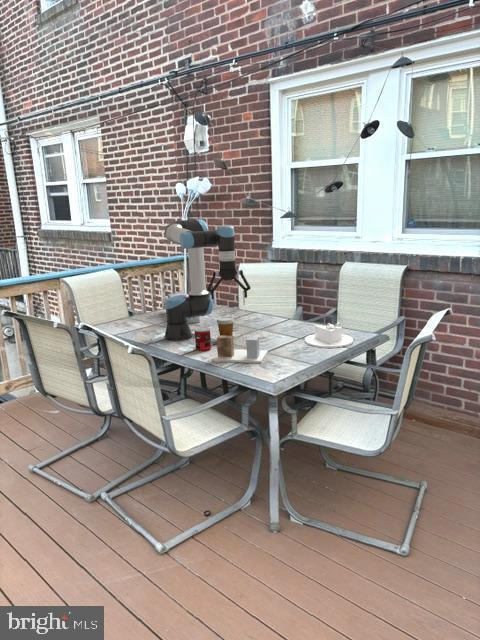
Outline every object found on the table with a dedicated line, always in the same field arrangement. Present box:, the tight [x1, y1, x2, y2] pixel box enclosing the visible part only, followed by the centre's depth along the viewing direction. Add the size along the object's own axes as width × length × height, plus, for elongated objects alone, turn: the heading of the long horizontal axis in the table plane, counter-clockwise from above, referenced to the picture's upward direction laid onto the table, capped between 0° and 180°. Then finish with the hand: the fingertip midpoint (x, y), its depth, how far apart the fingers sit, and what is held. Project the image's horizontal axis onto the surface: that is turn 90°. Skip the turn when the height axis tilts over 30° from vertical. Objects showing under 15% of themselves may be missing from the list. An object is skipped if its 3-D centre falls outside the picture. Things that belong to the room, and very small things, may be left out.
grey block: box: [245, 336, 260, 358], centre depth 220 cm, size 5×5×9 cm
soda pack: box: [167, 291, 201, 325], centre depth 308 cm, size 41×13×14 cm, turn 19°
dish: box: [304, 321, 354, 349], centre depth 242 cm, size 25×25×11 cm
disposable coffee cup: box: [216, 316, 235, 336], centre depth 252 cm, size 10×10×12 cm
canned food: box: [194, 326, 212, 352], centre depth 237 cm, size 8×8×11 cm
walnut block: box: [216, 334, 235, 358], centre depth 221 cm, size 7×4×10 cm, turn 75°
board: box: [211, 348, 269, 364], centre depth 224 cm, size 24×16×1 cm, turn 75°
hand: (229, 305), depth 218 cm, fingers open, 13 cm apart
